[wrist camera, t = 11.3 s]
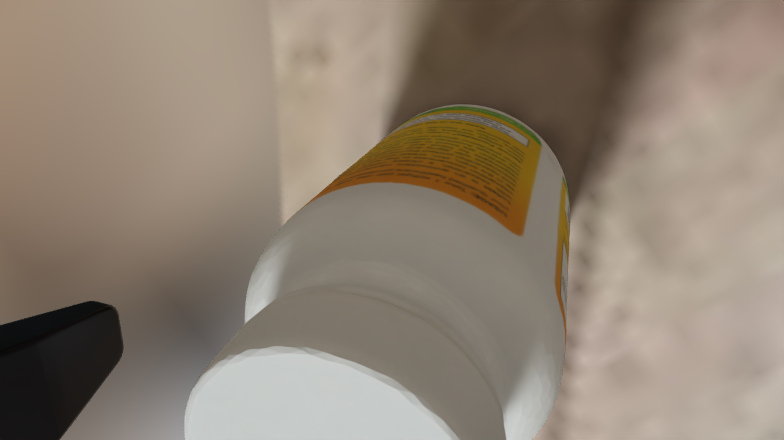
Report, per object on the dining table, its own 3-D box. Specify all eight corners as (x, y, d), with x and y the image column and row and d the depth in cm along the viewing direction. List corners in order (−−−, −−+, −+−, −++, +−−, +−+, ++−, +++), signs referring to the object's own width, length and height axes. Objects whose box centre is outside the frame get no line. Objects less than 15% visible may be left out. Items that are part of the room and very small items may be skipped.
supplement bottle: (335, 166, 16) (58, 384, 7) (498, 57, 14) (362, 194, 5) (439, 314, 17) (298, 661, 8) (610, 237, 14) (656, 613, 6)
